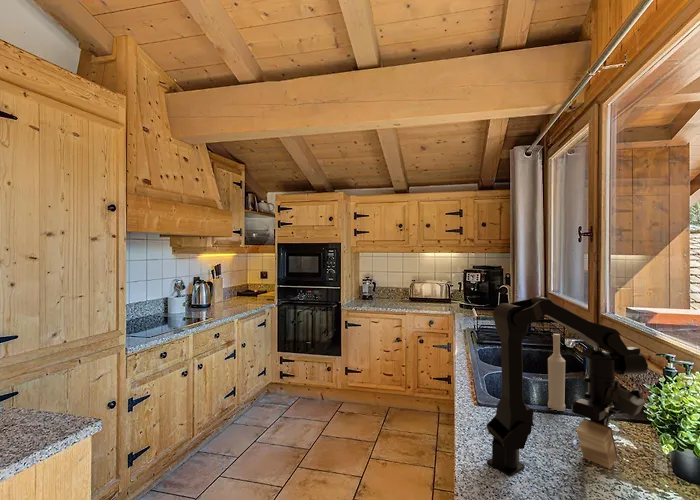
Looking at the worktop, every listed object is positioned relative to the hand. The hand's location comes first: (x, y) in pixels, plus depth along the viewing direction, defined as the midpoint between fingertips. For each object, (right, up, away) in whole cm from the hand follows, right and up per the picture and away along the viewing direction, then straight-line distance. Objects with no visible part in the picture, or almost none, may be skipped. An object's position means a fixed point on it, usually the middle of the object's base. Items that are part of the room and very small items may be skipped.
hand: (601, 436), depth 94 cm
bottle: (+5, -6, +30) cm, 31 cm away
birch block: (-1, -5, -1) cm, 5 cm away
